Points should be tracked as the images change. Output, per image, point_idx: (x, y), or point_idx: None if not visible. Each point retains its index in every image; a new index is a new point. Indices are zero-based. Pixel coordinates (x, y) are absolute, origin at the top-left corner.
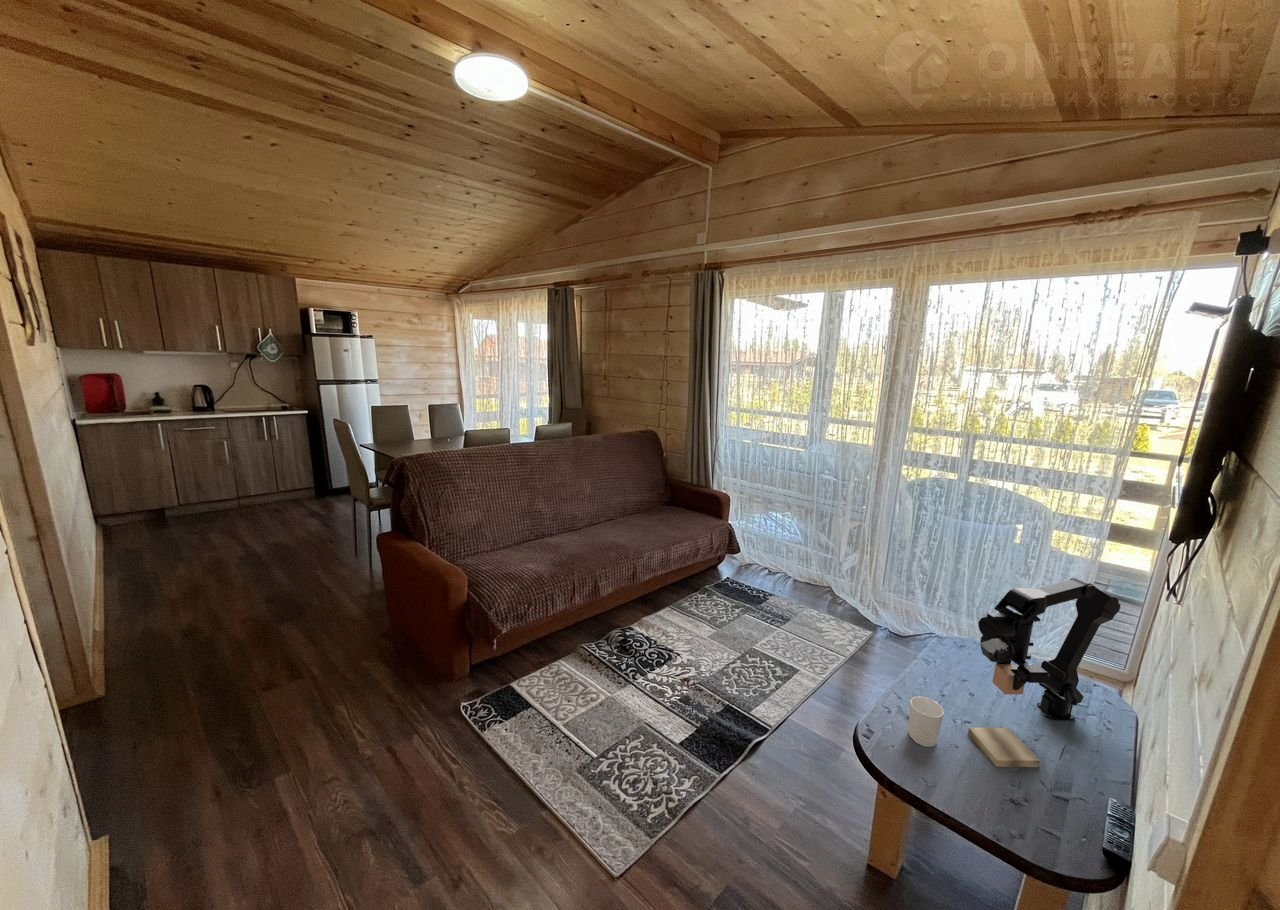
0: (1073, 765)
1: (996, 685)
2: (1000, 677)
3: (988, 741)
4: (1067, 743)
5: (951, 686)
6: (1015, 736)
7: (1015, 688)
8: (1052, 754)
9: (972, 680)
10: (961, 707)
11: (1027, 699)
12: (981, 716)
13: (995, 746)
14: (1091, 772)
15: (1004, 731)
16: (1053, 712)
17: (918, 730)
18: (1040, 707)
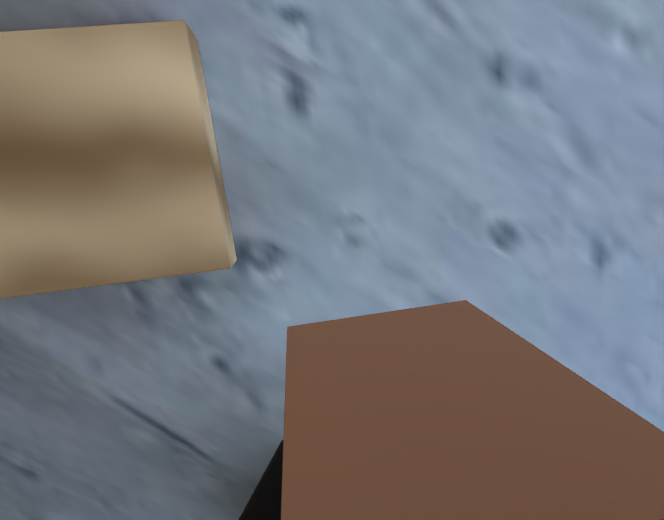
0: (89, 432)
1: (412, 311)
2: (431, 390)
3: (78, 83)
4: (224, 473)
5: (562, 162)
6: (164, 268)
7: (272, 469)
8: (138, 386)
9: (596, 293)
10: (407, 126)
11: None
12: (348, 198)
13: (39, 102)
14: (65, 476)
15: (195, 231)
16: None
17: None
18: None
